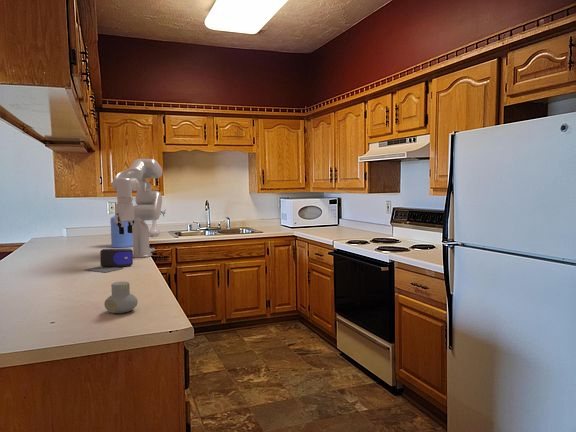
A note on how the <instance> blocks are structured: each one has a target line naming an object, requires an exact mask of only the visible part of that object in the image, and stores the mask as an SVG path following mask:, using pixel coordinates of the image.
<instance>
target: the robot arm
mask: <svg viewBox="0 0 576 432" xmlns="http://www.w3.org/2000/svg"><path fill="white" fill-rule="evenodd" d="M162 175H163V169H162V166H161V165H160V164H159V162H158V161H157V160H156V159H153V158H138V159H135V160H134V161H133V162H132V164H131V165H130V167H129V168H127V169H125V170H122V171H120V172H118V173H116V175H115V176H114V178H113V180H112V188H113V190H114V191H115V192H116V199H117V201H116V202H117V203H115V209H114V216H115V220H114V222H115V223H116V224H117V226H118V227H119V234H124V227H123V224H124V221H127V223H128V226H127V232H128V233H133V247H132V250H133V258H135V259H139V258H140V259H141V258H149V257H152V256H153V253H152V252H155V251H156V249H155V248H154V247H150V234H149V230H150V228H149V226H148V224H147V223H146V221H152V220H156V221H157V220H159V218H160V216H161V215H160V211H162V204H163V196H162V193H161V192H160V191H158V190H152V189H153V186H152V184H151V183H150V182H149V181H148V179H160V178H161V177H162ZM135 191H136V195H135V204H136V205H135V204H133V200H134V199H133V195H132V194H133V193H132V192H135ZM118 221H119V222H118Z"/></svg>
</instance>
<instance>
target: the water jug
mask: <svg viewBox="0 0 576 432" xmlns="http://www.w3.org/2000/svg"><path fill="white" fill-rule="evenodd" d="M114 220H115V215H114V216H111V218H110V237H111V238H110V239H111V240H110V241H111V243H110V244H111V248H112V249H128V248H133V233H128V232H127V226H128V223H127V221H124V224H123V227H124V234H119V227H118V226H117V224H116V223H115V222H114ZM118 222H119V221H118Z"/></svg>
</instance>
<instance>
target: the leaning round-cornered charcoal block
mask: <svg viewBox="0 0 576 432" xmlns="http://www.w3.org/2000/svg"><path fill="white" fill-rule="evenodd" d="M99 257H100V261H99V262H100V264H99V266H102V267H116V268H123V267H125V268H126V267H131V266H133V263H134V261H133V260H134V259H133V248H104V249H101V250H100V254H99Z"/></svg>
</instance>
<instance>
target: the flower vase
mask: <svg viewBox="0 0 576 432" xmlns="http://www.w3.org/2000/svg"><path fill="white" fill-rule="evenodd" d="M165 214H166V209H165V210H161V211H160V216H161V215H162V216H163V217H165ZM151 221H152V222H151V223H152V225H151V227H150V228H149V236H150V237H153V238H154V237H159V235H160V234H161V230H160V229H159V228H158V227H157V220H151Z"/></svg>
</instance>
